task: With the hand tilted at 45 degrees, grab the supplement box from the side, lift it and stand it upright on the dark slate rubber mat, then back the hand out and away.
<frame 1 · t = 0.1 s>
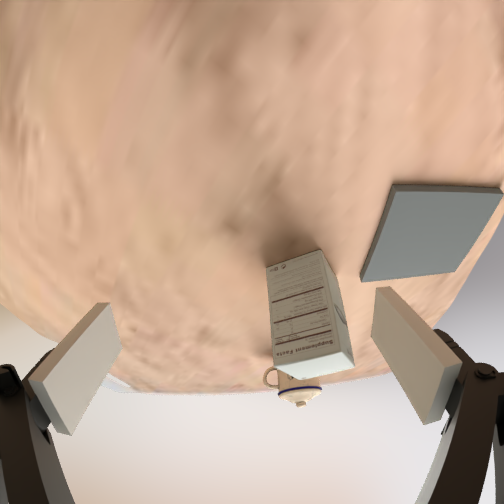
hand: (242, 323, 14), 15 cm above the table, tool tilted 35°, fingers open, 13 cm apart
slate mat: (430, 234, 34), on the table
supplement box: (302, 270, 39), on the table
teacup with lid: (289, 354, 64), on the table
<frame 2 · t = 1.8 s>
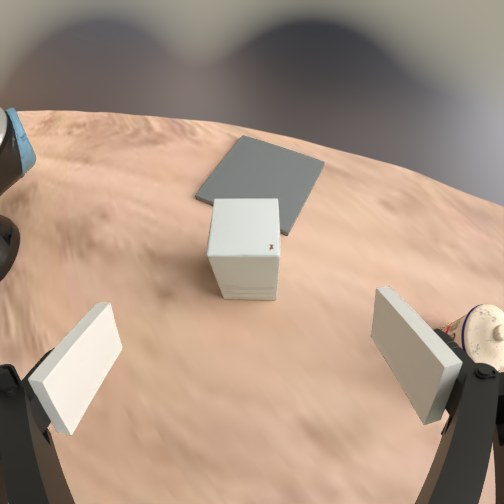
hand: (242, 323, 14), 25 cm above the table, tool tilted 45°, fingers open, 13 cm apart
slate mat: (262, 180, 51), on the table
supplement box: (250, 276, 43), on the table
teacup with lid: (450, 362, 35), on the table
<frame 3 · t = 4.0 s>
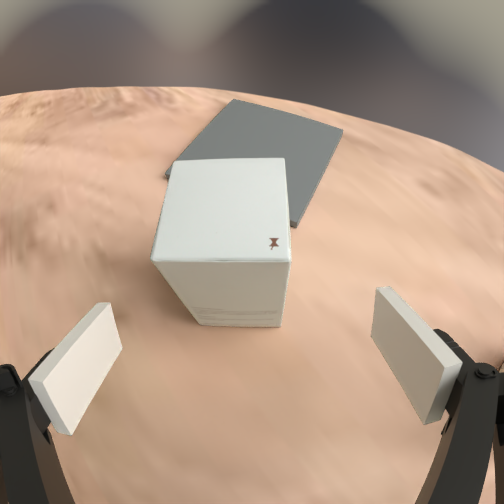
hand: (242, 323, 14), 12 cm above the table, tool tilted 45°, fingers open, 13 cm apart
slate mat: (259, 153, 36), on the table
supplement box: (240, 289, 28), on the table
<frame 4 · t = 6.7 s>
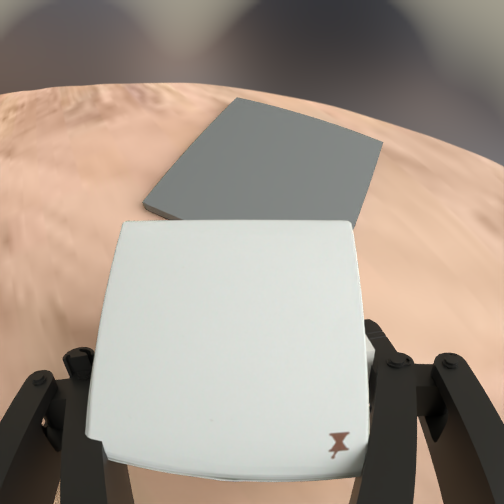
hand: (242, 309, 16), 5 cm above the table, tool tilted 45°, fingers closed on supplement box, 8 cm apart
slate mat: (273, 172, 26), on the table
supplement box: (250, 382, 18), on the table, touching gripper
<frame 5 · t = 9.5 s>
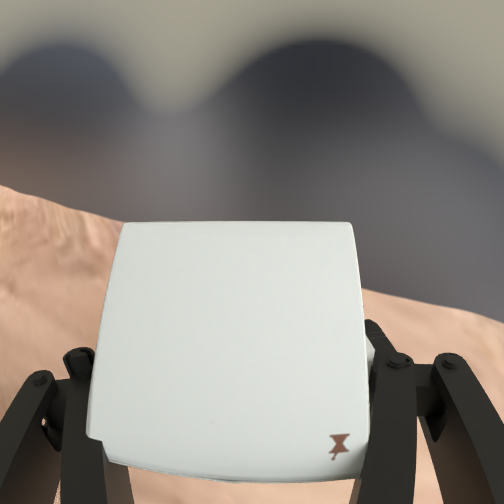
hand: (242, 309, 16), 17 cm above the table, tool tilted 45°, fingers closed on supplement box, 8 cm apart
supplement box: (250, 383, 18), point 13 cm above the table, touching gripper
when the fingers open (8 cm above the table, at t = 12.5 s): supplement box drops 2 cm, resting on slate mat.
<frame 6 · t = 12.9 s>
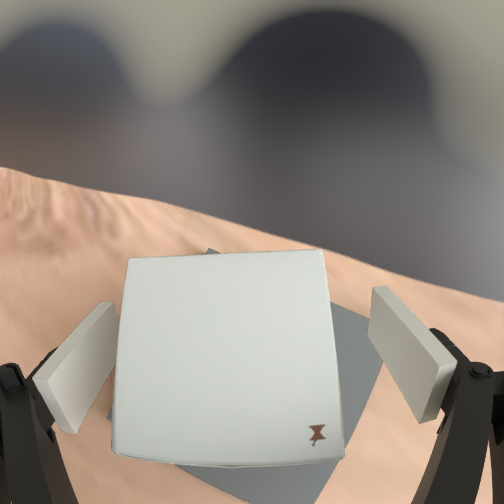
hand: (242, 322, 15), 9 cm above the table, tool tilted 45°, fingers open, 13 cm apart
slate mat: (252, 385, 21), on the table
supplement box: (247, 385, 20), point 1 cm above the table, touching slate mat
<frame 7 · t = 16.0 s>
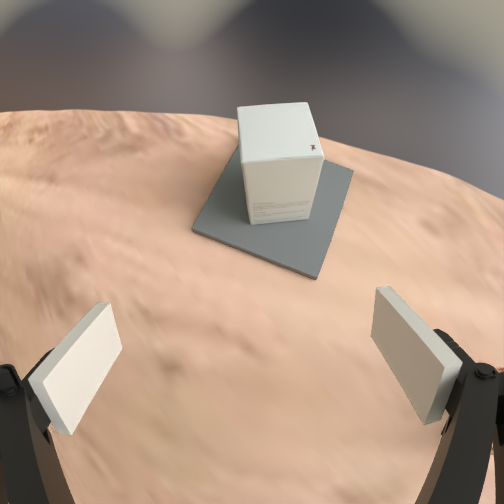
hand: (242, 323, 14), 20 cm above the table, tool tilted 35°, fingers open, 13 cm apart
slate mat: (277, 200, 39), on the table
supplement box: (275, 197, 39), point 1 cm above the table, touching slate mat
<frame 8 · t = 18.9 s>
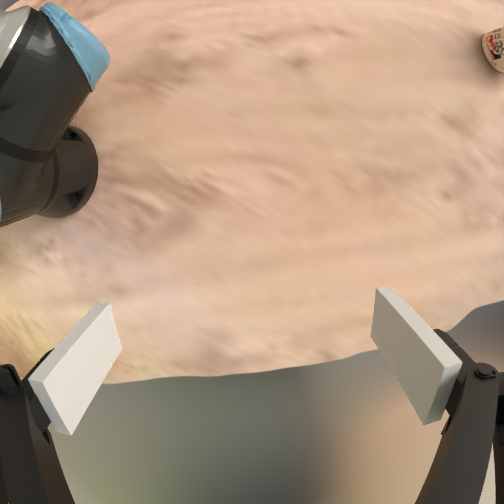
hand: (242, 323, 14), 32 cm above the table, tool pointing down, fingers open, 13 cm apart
teacup with lid: (496, 59, 36), on the table
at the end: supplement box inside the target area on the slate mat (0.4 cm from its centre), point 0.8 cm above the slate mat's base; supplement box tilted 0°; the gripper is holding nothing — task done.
